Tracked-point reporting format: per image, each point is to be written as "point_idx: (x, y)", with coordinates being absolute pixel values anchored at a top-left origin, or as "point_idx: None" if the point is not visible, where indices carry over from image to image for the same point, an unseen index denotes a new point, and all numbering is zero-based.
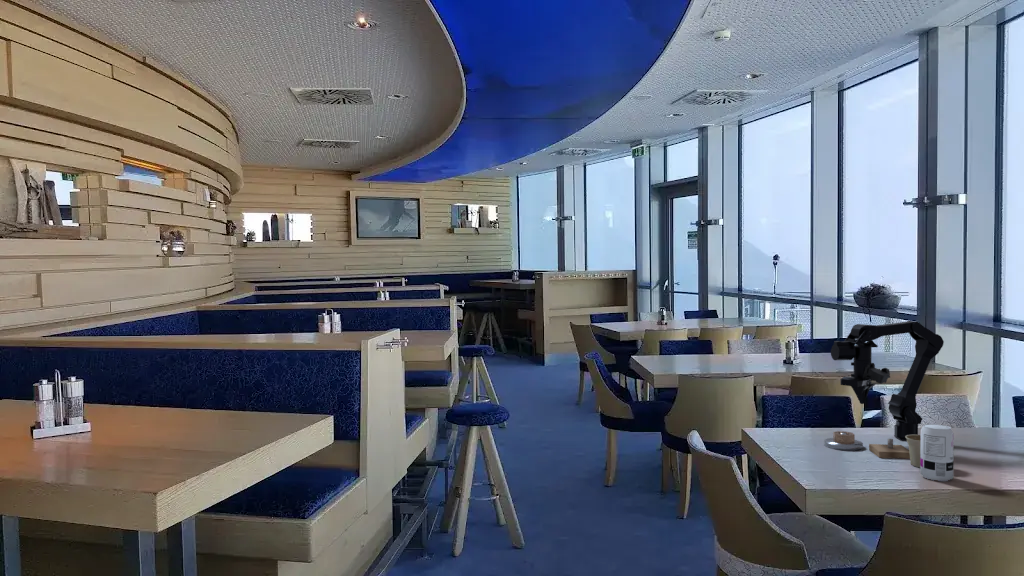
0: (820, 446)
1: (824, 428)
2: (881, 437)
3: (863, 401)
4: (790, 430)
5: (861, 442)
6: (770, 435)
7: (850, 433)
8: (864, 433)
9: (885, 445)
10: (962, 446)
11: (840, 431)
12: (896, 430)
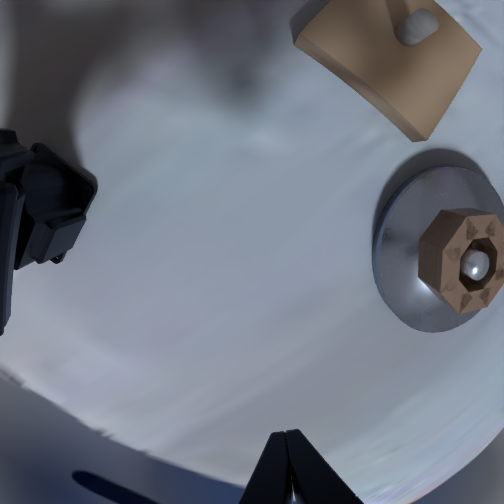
0: None
1: (219, 472)
2: (123, 283)
3: (308, 444)
4: (351, 482)
5: (402, 201)
6: (453, 447)
7: (462, 245)
8: (134, 368)
9: (383, 73)
10: (4, 30)
11: (457, 303)
12: (66, 230)
